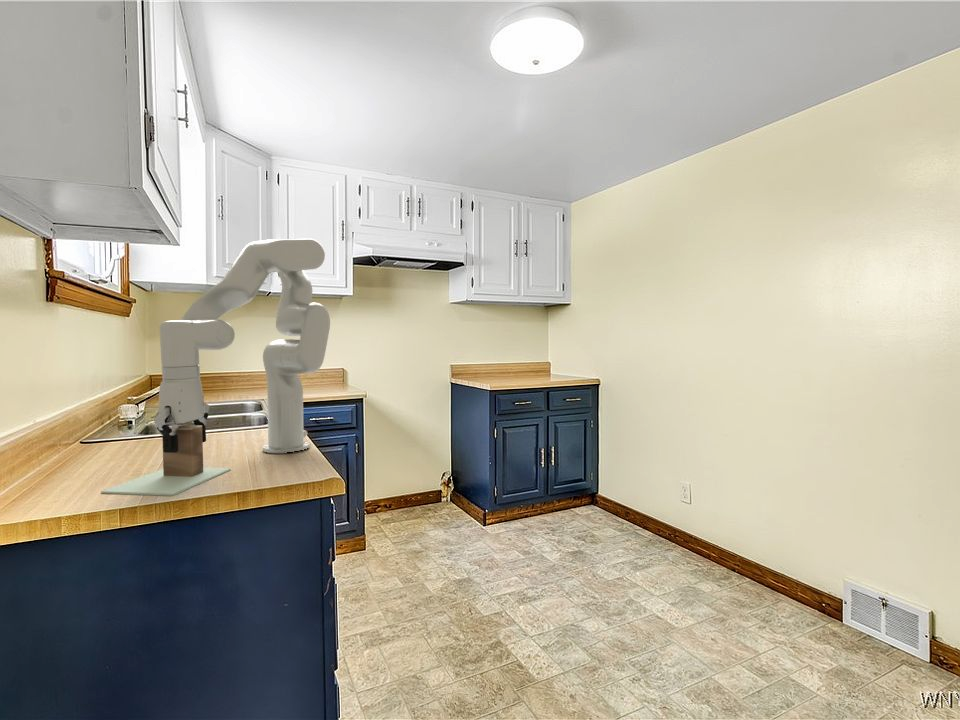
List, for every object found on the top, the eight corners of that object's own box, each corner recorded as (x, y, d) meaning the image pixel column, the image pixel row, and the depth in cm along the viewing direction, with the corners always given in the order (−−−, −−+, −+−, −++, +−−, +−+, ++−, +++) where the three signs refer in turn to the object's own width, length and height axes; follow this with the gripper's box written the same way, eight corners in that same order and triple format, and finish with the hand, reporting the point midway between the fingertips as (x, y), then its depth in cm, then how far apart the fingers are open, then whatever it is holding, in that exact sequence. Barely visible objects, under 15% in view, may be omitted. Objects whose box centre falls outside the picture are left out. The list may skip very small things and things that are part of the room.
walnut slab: (175, 471, 121) (174, 424, 121) (203, 472, 120) (202, 425, 120) (163, 475, 117) (162, 427, 117) (192, 476, 116) (190, 428, 116)
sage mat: (169, 468, 125) (169, 466, 125) (230, 470, 124) (230, 468, 124) (100, 493, 106) (100, 491, 106) (172, 495, 104) (172, 493, 104)
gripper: (191, 370, 127) (195, 438, 128) (137, 378, 110) (142, 456, 111) (219, 370, 126) (223, 438, 127) (170, 378, 109) (174, 457, 110)
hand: (185, 446), depth 119 cm, fingers open, 9 cm apart
